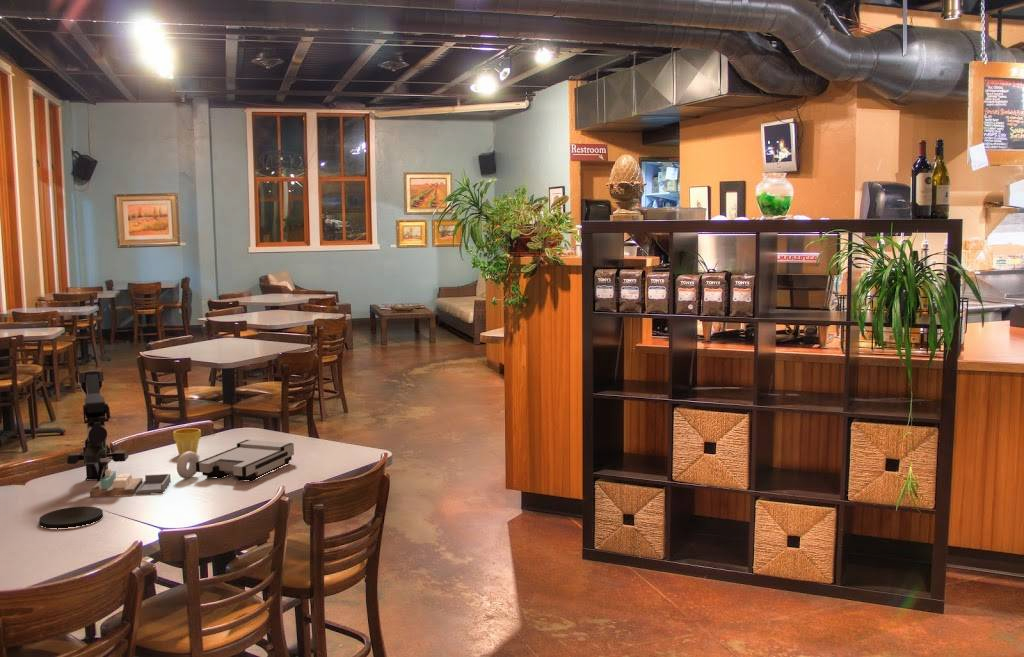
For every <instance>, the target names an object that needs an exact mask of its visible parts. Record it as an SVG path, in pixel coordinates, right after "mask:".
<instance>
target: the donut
mask: <svg viewBox="0 0 1024 657" xmlns="http://www.w3.org/2000/svg"><path fill="white" fill-rule="evenodd" d="M199 461H200V459H199V456H198V455H197V454H195V453H194V452H192V451H187V452H185V453H183V454H182V455H181V456H180V455H179V458H178V459H177V463H176V471H177V474H178V476H179V477H180V478H182V479H184V480H187V478H188V479H191V478H193V477H194V476H195V475H196V474H197V472H196V463H197V462H199ZM188 462H189V465H188ZM187 465H188V467H187Z"/></svg>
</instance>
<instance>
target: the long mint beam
mask: <svg viewBox="0 0 1024 657" xmlns="http://www.w3.org/2000/svg"><path fill="white" fill-rule="evenodd" d="M116 474H117V473H116V470H112V469H109V468H108V470H105V477H104V478H103V479H102V480H101V489H108V488H109V487H110V485H111V484H112V483H113V481H114V480H115V479H116V478H117V475H116Z"/></svg>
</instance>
